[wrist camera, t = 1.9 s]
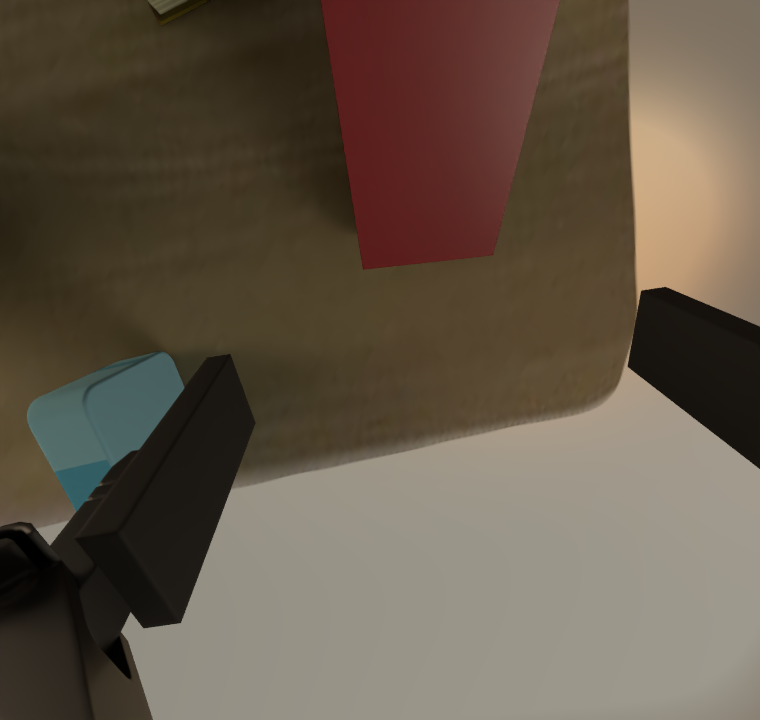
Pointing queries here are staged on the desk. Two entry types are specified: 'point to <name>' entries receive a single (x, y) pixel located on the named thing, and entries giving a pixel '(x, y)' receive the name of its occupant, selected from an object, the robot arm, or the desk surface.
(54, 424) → the data package
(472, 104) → the book
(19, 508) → the desk surface
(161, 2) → the hardcover book
